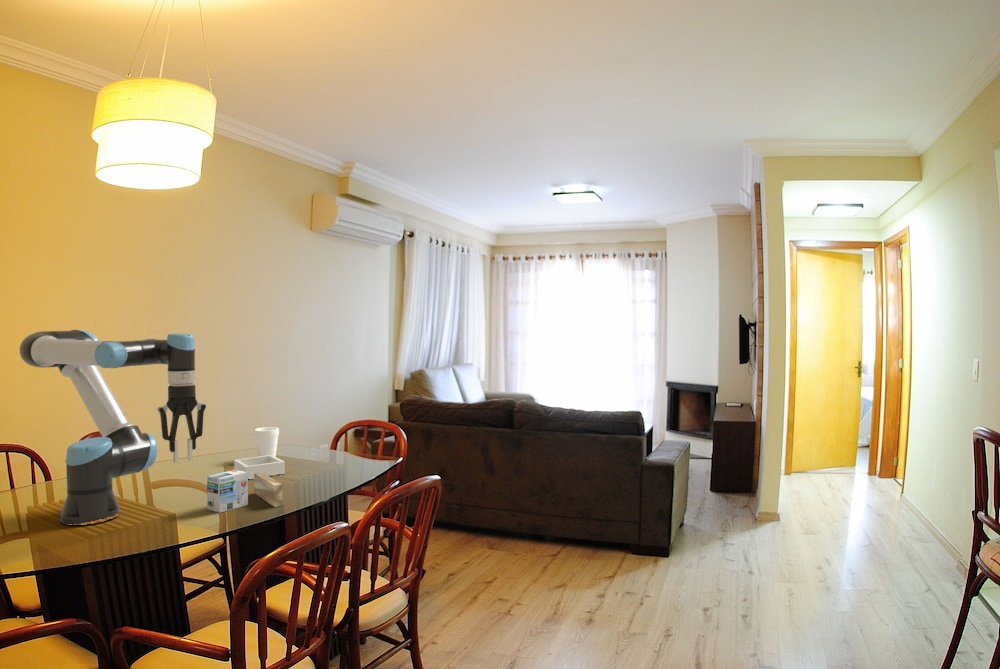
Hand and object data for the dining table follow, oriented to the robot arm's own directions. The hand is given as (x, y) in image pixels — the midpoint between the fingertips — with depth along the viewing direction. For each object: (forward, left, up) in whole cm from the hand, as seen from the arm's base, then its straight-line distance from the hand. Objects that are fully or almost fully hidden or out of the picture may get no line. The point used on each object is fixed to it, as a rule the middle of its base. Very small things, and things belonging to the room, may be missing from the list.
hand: (183, 461), depth 205 cm
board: (+26, +1, -17) cm, 31 cm away
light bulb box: (+13, 0, -17) cm, 21 cm away
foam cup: (+45, +58, -17) cm, 75 cm away
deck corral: (+35, +37, -17) cm, 54 cm away
